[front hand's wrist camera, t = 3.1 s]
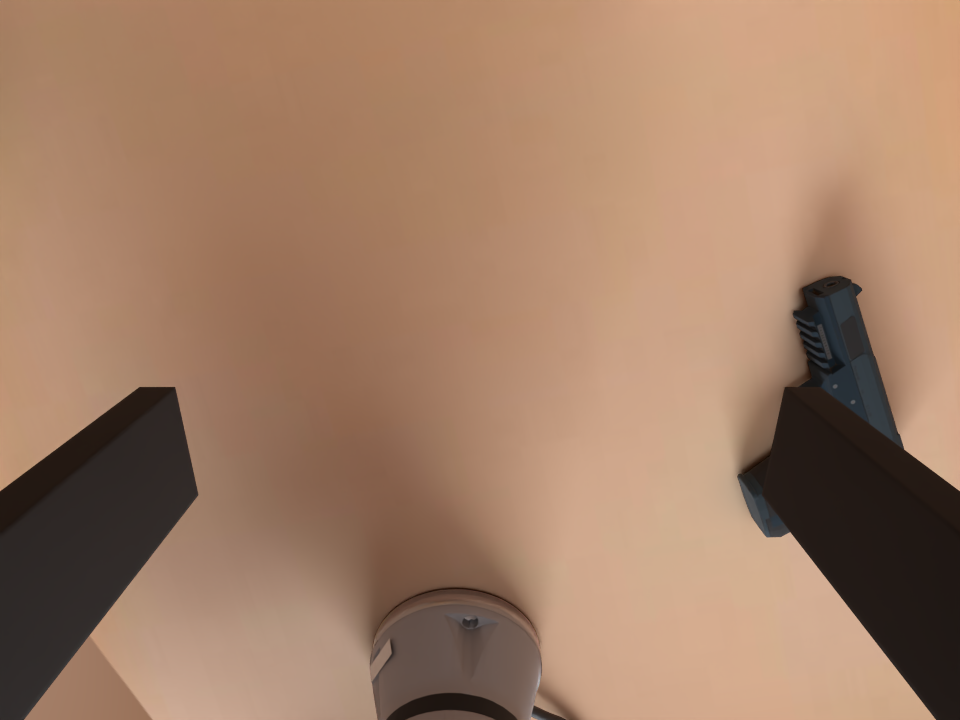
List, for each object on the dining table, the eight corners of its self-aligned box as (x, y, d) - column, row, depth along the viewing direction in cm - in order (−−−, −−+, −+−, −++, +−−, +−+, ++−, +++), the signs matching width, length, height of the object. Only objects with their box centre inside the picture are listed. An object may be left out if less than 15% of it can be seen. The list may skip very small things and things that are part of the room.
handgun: (677, 343, 42) (841, 267, 40) (753, 522, 47) (901, 463, 45) (692, 358, 39) (871, 277, 37) (771, 548, 44) (931, 486, 42)
